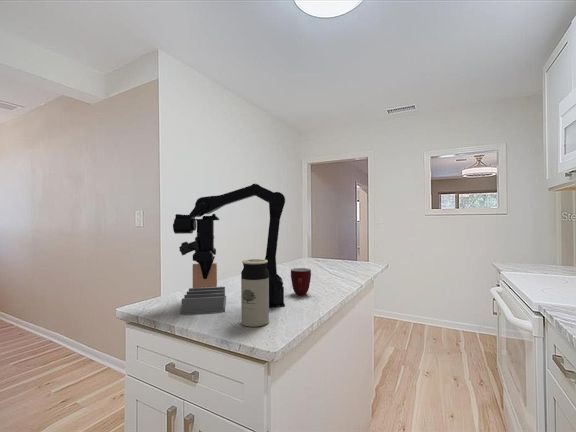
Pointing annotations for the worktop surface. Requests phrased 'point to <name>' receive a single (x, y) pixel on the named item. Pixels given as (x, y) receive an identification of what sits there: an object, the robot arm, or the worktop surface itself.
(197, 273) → the tile
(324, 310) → the worktop surface
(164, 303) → the worktop surface
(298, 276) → the mug
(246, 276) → the travel mug
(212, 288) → the coaster holder
